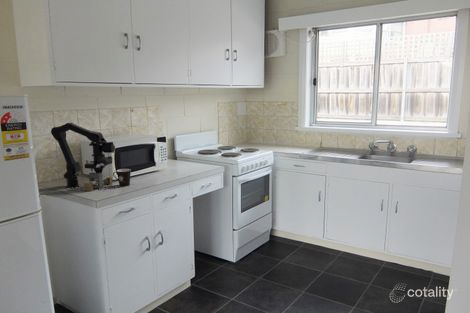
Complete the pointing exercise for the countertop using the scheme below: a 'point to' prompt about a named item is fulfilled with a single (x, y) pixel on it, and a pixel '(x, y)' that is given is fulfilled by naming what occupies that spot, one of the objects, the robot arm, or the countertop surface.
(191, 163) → the countertop surface
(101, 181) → the collar
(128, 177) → the coffee mug
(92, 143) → the robot arm
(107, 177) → the metal shaft
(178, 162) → the countertop surface
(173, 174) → the countertop surface
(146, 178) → the countertop surface
